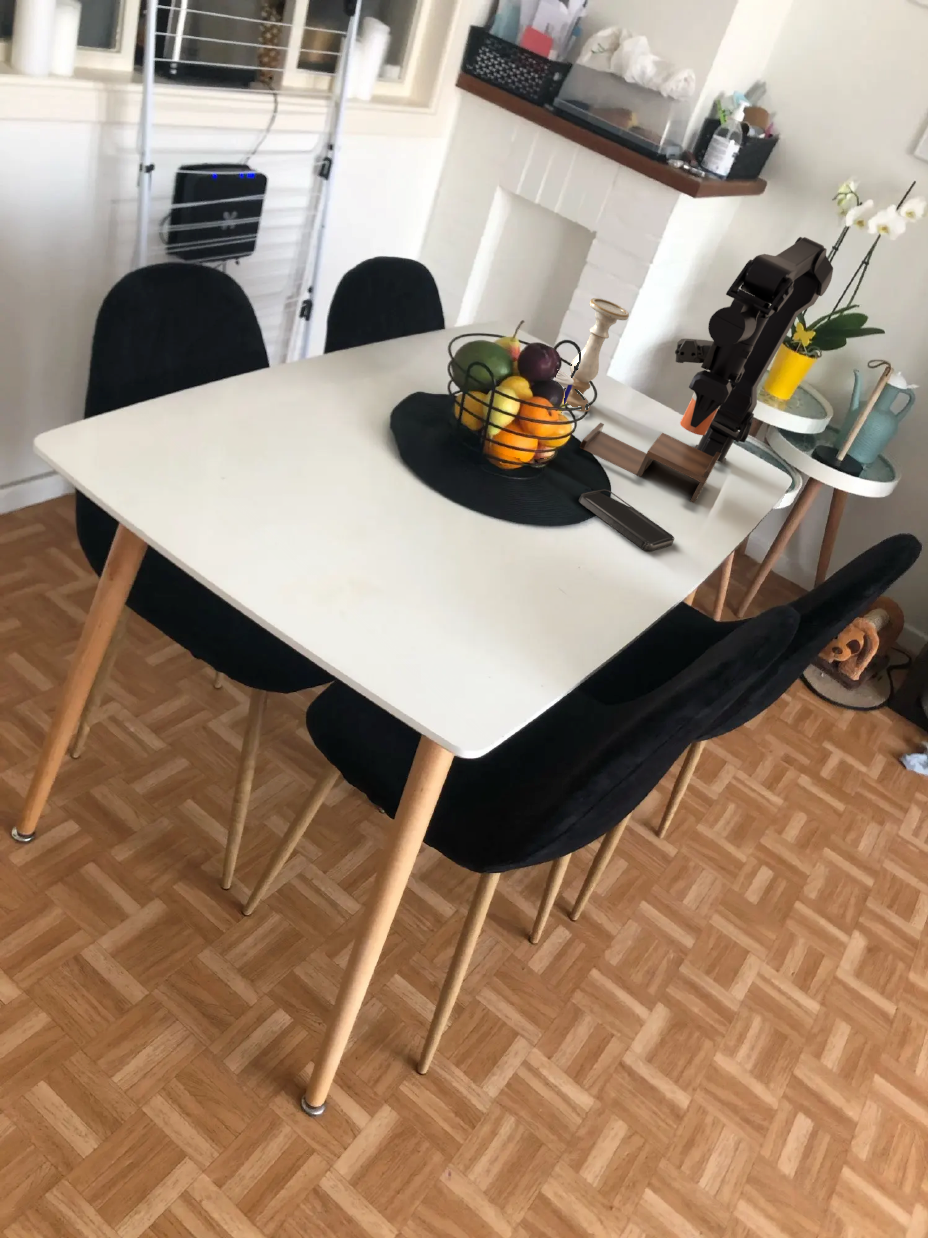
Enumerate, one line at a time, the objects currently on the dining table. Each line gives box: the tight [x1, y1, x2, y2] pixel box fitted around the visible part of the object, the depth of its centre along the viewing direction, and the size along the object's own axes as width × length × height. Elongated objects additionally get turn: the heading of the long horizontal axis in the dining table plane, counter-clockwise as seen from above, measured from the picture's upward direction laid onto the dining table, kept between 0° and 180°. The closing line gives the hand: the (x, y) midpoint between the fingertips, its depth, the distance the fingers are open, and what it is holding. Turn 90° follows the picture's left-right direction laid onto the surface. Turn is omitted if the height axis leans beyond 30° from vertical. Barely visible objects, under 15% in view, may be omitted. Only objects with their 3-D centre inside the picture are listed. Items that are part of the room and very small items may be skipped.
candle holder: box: [566, 297, 630, 413], centre depth 188 cm, size 9×9×20 cm
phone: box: [578, 488, 675, 552], centre depth 158 cm, size 8×1×15 cm
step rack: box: [579, 422, 721, 504], centre depth 177 cm, size 12×22×7 cm, turn 66°
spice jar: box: [679, 391, 720, 436], centre depth 171 cm, size 5×5×6 cm
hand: (695, 422), depth 172 cm, fingers closed on spice jar, 5 cm apart
